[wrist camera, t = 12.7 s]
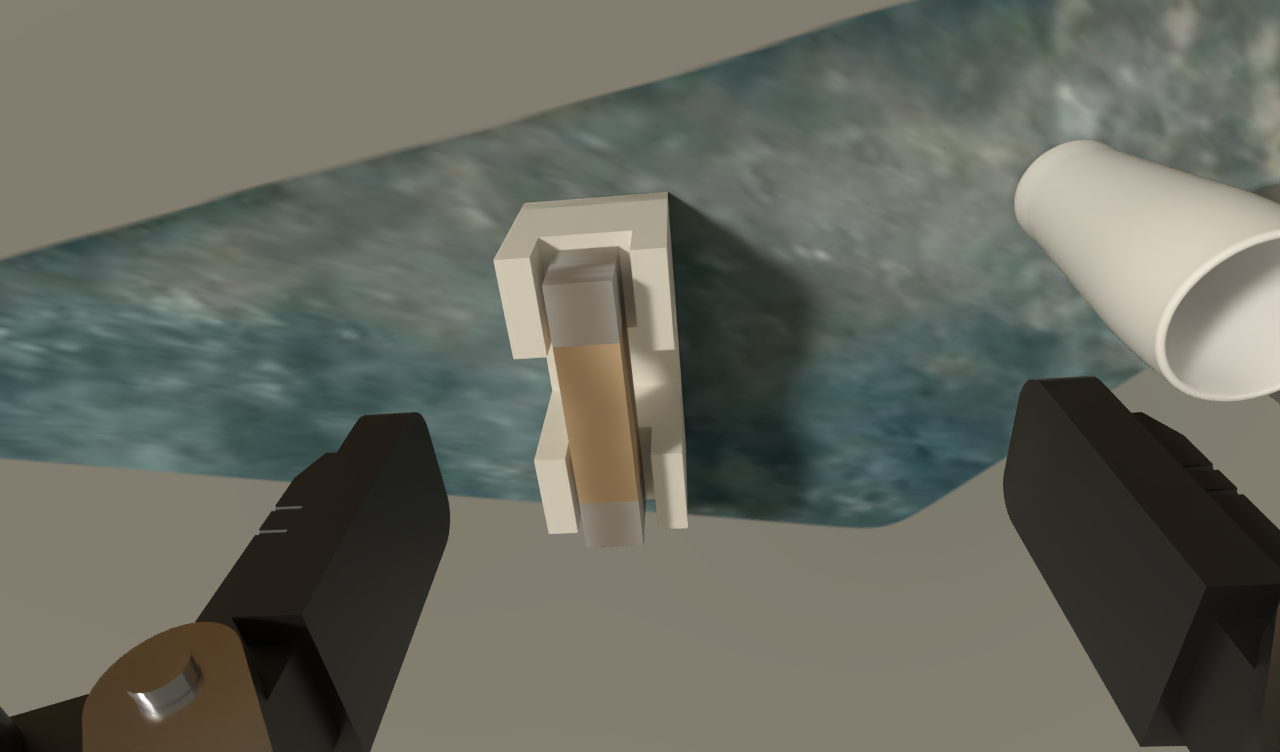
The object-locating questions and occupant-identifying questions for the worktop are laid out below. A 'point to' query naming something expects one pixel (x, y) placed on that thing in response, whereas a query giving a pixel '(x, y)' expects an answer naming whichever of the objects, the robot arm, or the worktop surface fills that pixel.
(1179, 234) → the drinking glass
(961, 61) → the worktop surface
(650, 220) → the white notched block
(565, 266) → the rail
